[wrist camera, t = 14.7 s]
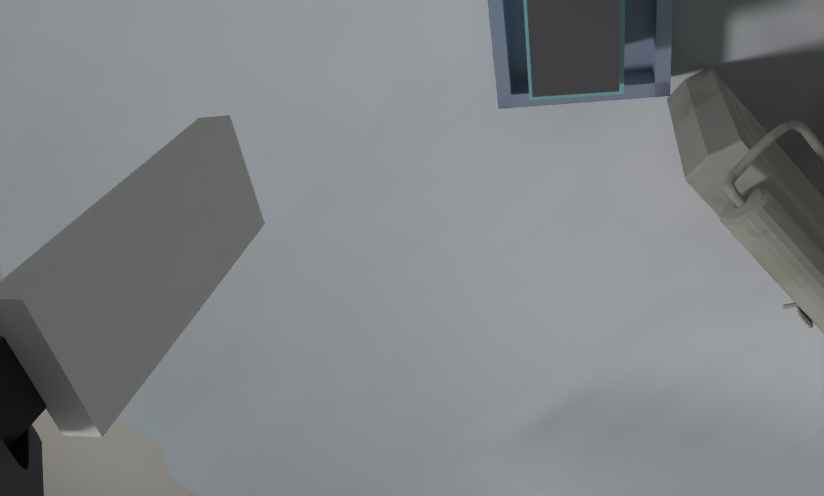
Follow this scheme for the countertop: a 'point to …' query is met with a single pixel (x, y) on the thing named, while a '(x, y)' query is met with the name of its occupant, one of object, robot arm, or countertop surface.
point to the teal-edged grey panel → (574, 47)
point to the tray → (641, 54)
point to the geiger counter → (754, 186)
